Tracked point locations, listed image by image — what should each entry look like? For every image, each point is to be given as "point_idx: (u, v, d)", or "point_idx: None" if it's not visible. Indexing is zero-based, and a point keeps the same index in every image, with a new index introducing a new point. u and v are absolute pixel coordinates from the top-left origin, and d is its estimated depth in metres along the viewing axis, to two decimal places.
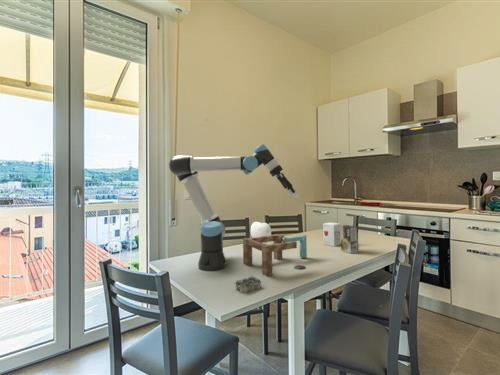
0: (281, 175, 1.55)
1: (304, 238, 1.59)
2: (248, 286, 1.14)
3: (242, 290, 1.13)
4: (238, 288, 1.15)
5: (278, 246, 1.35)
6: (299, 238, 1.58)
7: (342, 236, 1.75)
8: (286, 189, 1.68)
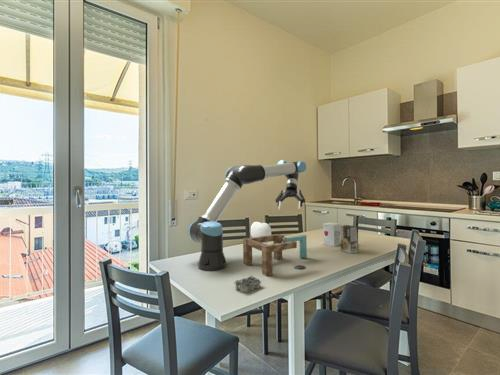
0: None
1: (304, 238, 1.59)
2: (248, 286, 1.15)
3: (242, 290, 1.13)
4: (238, 288, 1.15)
5: (278, 246, 1.35)
6: (299, 238, 1.58)
7: (342, 236, 1.75)
8: (280, 202, 1.85)
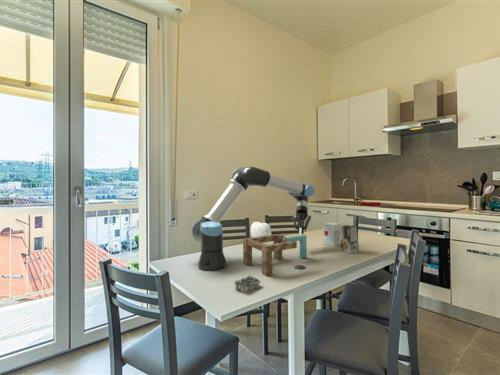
0: (310, 218, 1.82)
1: (304, 238, 1.59)
2: (248, 286, 1.15)
3: (243, 290, 1.13)
4: (238, 288, 1.15)
5: (278, 246, 1.35)
6: (299, 238, 1.58)
7: (342, 236, 1.75)
8: None
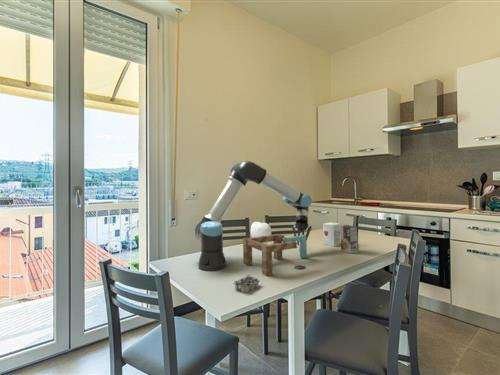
0: (310, 229, 1.73)
1: (304, 238, 1.59)
2: (248, 285, 1.15)
3: (243, 290, 1.13)
4: (238, 288, 1.15)
5: (278, 246, 1.35)
6: (299, 238, 1.58)
7: (342, 236, 1.75)
8: None
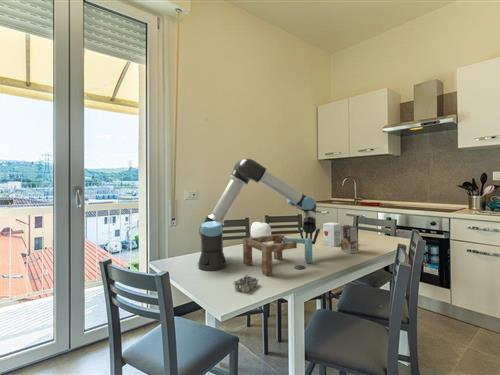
0: (319, 231, 1.63)
1: (307, 242, 1.49)
2: (248, 285, 1.15)
3: (244, 290, 1.13)
4: (238, 289, 1.15)
5: (278, 246, 1.35)
6: (301, 241, 1.51)
7: (342, 236, 1.75)
8: None
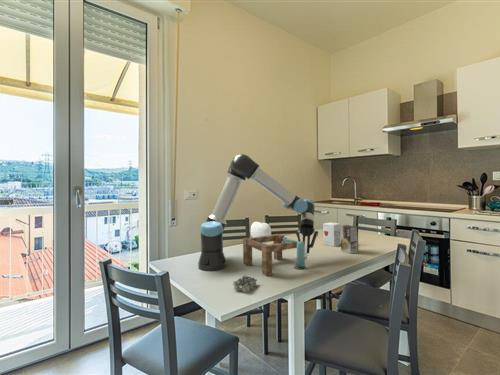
0: (317, 234, 1.54)
1: (297, 245, 1.43)
2: None
3: (245, 290, 1.13)
4: (238, 289, 1.14)
5: (278, 246, 1.35)
6: None
7: (342, 236, 1.75)
8: (305, 247, 1.49)
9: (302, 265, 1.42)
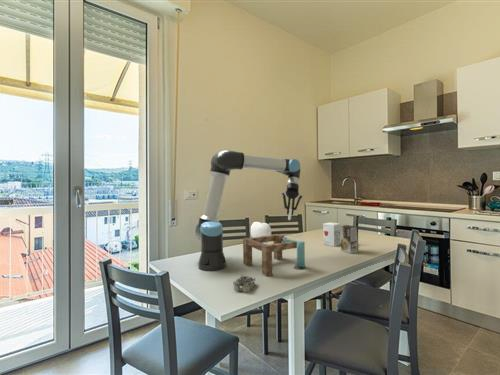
0: None
1: (297, 245, 1.43)
2: (248, 285, 1.16)
3: (246, 290, 1.13)
4: (239, 289, 1.14)
5: (278, 246, 1.35)
6: None
7: (342, 236, 1.75)
8: None
9: (302, 265, 1.42)
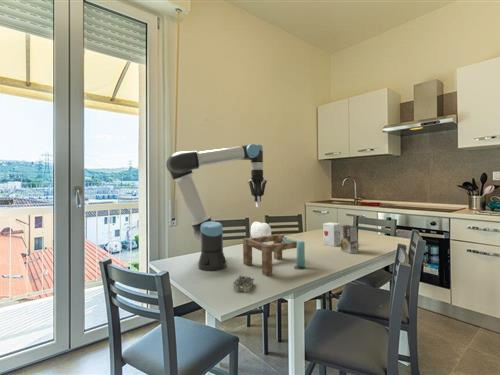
0: None
1: (297, 245, 1.43)
2: None
3: (246, 290, 1.13)
4: (239, 289, 1.14)
5: (278, 246, 1.35)
6: None
7: (342, 236, 1.75)
8: (258, 197, 1.73)
9: (302, 265, 1.42)
